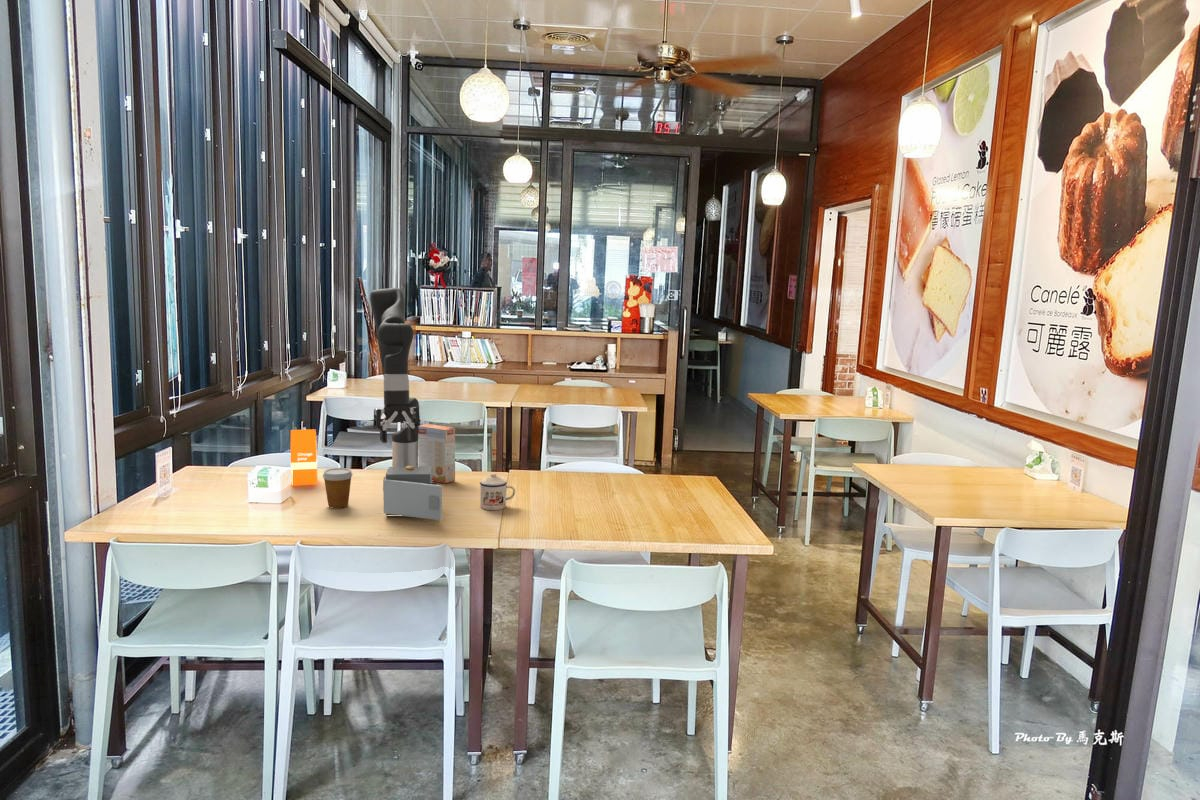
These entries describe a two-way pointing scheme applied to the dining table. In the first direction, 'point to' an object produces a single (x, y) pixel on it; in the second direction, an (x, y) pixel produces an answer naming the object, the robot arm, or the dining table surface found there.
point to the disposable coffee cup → (337, 486)
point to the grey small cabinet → (410, 475)
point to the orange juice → (304, 457)
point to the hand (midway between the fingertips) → (397, 441)
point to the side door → (412, 499)
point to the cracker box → (437, 451)
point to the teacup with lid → (494, 493)
